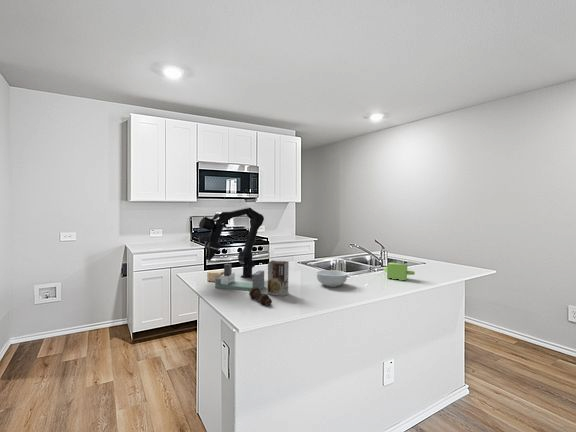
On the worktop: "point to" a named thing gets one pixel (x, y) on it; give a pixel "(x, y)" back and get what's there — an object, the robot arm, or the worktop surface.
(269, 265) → the coffee box
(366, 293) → the worktop surface
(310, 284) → the worktop surface
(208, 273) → the block
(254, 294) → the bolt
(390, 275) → the gearbox
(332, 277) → the cereal bowl
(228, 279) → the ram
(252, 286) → the press frame
